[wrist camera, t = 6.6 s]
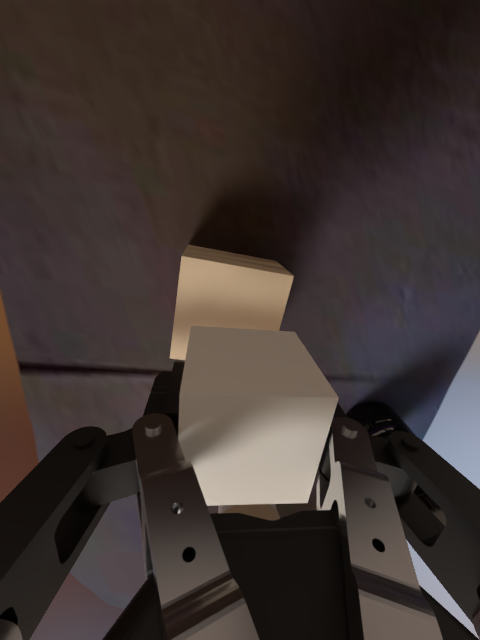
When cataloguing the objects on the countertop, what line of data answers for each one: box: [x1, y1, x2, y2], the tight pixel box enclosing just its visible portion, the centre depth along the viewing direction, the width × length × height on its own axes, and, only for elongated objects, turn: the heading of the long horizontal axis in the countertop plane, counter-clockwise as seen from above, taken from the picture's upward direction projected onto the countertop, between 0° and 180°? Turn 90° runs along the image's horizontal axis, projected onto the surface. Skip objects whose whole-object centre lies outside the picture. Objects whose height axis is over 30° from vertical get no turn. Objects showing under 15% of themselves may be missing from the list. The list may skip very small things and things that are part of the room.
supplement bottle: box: [347, 402, 446, 526], centre depth 28 cm, size 7×7×12 cm
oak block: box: [170, 245, 294, 360], centre depth 23 cm, size 8×8×6 cm
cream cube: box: [178, 326, 339, 506], centre depth 12 cm, size 5×5×5 cm
